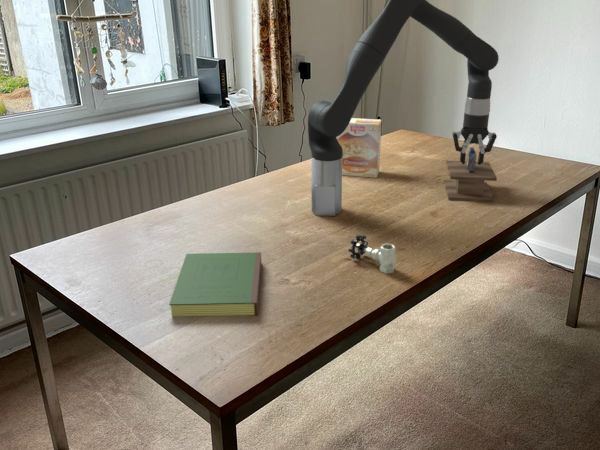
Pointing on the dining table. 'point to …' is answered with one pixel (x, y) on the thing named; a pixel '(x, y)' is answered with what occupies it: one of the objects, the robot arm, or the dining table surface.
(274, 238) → the dining table surface
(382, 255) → the valve
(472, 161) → the mini dv tape
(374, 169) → the coffeecake box
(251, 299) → the hardcover book
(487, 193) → the stand
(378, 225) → the dining table surface
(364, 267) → the dining table surface
